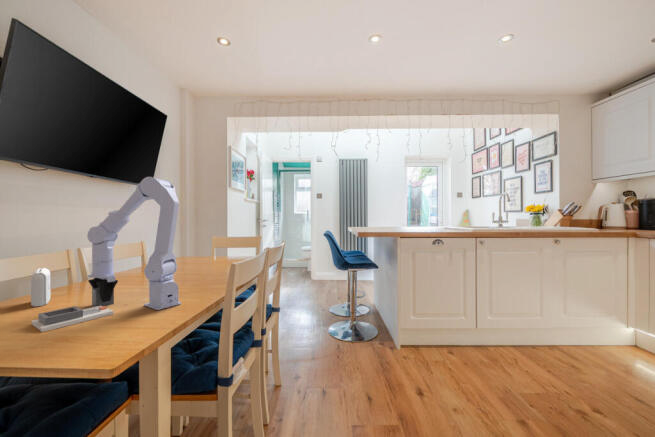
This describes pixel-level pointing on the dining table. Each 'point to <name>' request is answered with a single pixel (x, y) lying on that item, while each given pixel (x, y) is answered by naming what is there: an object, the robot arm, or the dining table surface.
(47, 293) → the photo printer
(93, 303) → the gray block
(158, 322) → the dining table surface
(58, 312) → the white flat rectangular base
